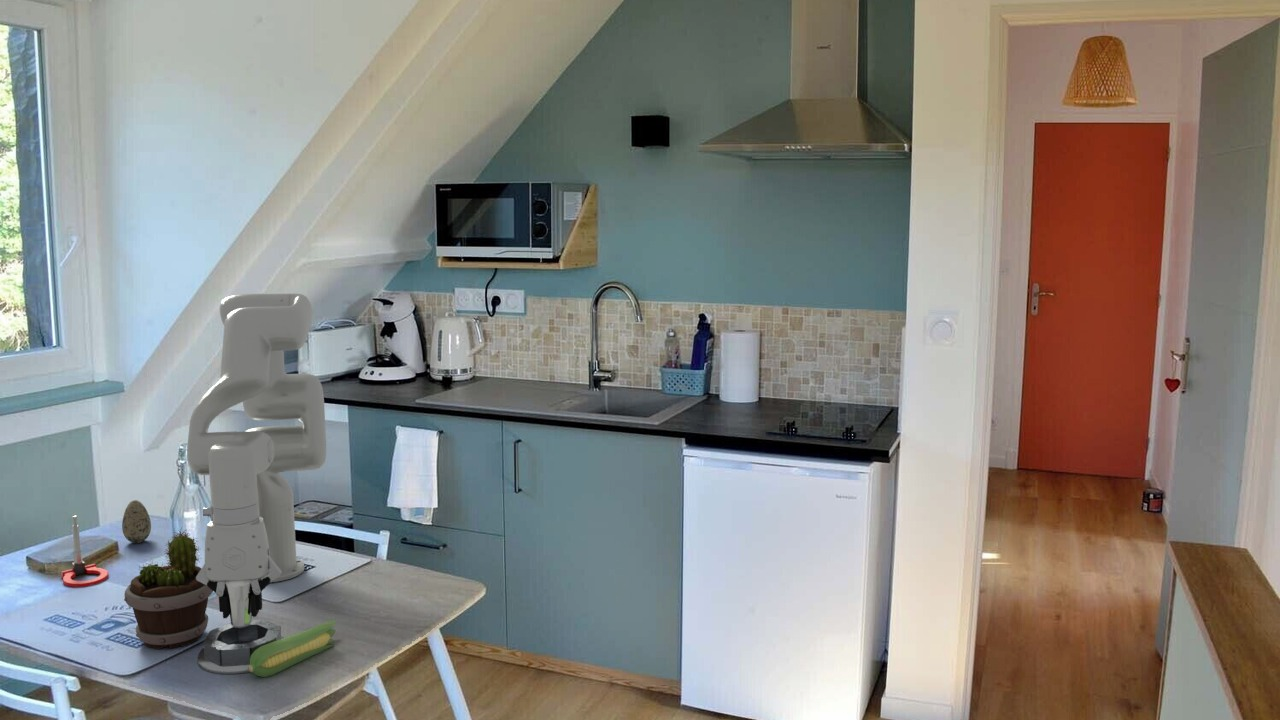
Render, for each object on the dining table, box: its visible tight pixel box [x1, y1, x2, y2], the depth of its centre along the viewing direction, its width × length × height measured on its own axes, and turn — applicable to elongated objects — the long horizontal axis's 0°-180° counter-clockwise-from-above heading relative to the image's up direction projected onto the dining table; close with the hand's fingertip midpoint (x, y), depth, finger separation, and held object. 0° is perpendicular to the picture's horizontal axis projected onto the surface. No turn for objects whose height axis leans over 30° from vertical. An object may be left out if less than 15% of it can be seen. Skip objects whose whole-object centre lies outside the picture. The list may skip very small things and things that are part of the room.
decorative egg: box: [121, 499, 152, 544], centre depth 241 cm, size 6×6×10 cm
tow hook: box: [60, 515, 110, 588], centre depth 218 cm, size 8×13×9 cm
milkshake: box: [225, 580, 253, 628], centre depth 183 cm, size 4×5×10 cm
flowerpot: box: [123, 527, 214, 650], centre depth 190 cm, size 14×15×20 cm
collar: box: [197, 619, 285, 675], centre depth 185 cm, size 15×15×4 cm
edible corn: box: [248, 620, 337, 678], centre depth 183 cm, size 5×20×5 cm
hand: (241, 613), depth 184 cm, fingers closed on milkshake, 4 cm apart
